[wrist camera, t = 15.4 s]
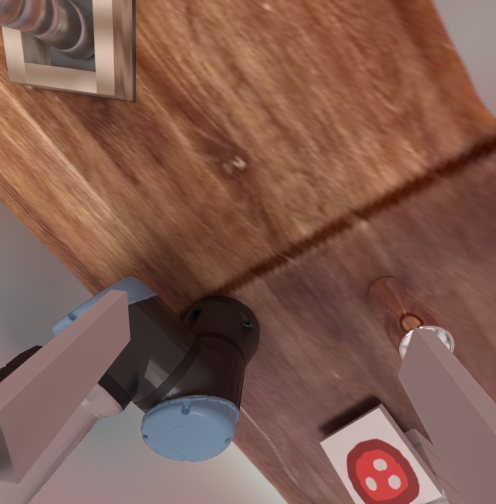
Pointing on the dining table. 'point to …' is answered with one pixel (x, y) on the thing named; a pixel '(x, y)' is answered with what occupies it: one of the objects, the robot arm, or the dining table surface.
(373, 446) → the pizza boxes
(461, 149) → the dining table surface
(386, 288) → the beer glass
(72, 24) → the plastic bottle
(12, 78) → the bottle holder
